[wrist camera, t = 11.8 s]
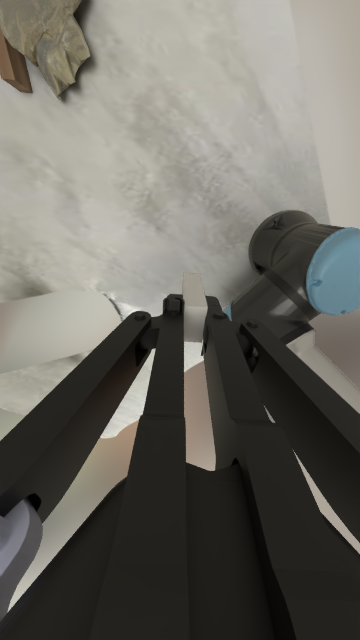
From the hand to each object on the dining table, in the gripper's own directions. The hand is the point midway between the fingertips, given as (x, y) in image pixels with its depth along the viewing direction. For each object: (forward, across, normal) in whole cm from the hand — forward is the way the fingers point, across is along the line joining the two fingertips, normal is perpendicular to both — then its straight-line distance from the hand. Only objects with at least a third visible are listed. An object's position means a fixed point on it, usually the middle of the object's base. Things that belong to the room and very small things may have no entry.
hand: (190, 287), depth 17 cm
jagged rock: (+31, +21, -28) cm, 46 cm away
